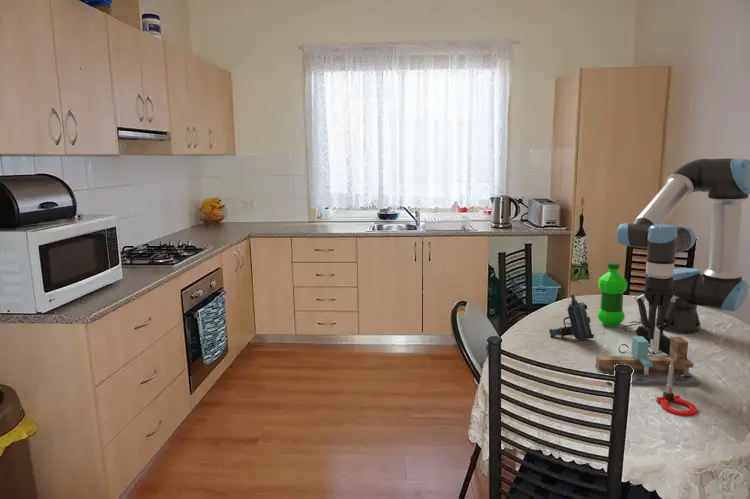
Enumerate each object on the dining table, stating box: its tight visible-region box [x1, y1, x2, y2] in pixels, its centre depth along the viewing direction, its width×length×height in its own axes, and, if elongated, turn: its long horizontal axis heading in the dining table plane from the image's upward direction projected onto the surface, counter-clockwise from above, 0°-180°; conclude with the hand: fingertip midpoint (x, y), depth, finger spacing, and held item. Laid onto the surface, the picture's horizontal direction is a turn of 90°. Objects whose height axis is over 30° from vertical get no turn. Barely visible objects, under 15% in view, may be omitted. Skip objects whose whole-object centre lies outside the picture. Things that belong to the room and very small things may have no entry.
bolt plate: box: [595, 364, 700, 387], centre depth 162 cm, size 26×12×1 cm, turn 83°
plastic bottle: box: [596, 261, 628, 328], centre depth 207 cm, size 10×10×25 cm
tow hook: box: [655, 358, 698, 417], centre depth 141 cm, size 8×13×9 cm
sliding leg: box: [631, 335, 653, 376], centre depth 163 cm, size 3×10×9 cm, turn 173°
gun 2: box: [635, 325, 671, 357], centre depth 178 cm, size 3×16×10 cm, turn 58°
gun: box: [548, 294, 595, 341], centre depth 195 cm, size 3×17×15 cm
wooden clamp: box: [595, 336, 694, 376], centre depth 163 cm, size 26×10×9 cm, turn 83°
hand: (654, 348), depth 164 cm, fingers closed
